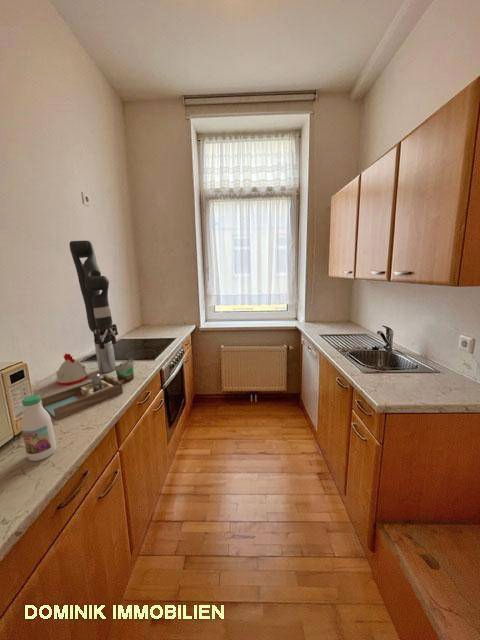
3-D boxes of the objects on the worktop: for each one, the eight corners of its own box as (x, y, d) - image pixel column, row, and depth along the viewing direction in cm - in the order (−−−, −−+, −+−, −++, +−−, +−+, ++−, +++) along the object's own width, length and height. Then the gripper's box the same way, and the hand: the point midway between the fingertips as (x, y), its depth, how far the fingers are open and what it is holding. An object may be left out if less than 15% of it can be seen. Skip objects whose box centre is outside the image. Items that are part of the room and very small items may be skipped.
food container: (127, 385, 137) (124, 366, 135) (116, 384, 138) (114, 366, 136) (140, 375, 148) (138, 358, 146) (130, 374, 150) (128, 357, 148)
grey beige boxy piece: (81, 393, 126) (78, 375, 125) (102, 385, 134) (100, 368, 132) (92, 400, 119) (89, 381, 117) (114, 391, 127) (112, 374, 125)
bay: (43, 408, 116) (40, 396, 115) (106, 384, 138) (105, 374, 137) (56, 420, 107) (54, 407, 106) (123, 392, 128) (121, 382, 127)
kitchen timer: (77, 373, 154) (73, 348, 151) (92, 377, 148) (88, 351, 145) (52, 383, 142) (47, 356, 139) (67, 387, 136) (62, 359, 133)
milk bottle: (38, 446, 91) (26, 392, 87) (61, 444, 92) (51, 391, 87) (22, 463, 83) (8, 404, 79) (48, 460, 84) (36, 403, 80)
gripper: (106, 313, 143) (111, 342, 146) (85, 318, 129) (92, 350, 132) (118, 313, 141) (123, 342, 144) (99, 318, 128) (104, 350, 131)
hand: (108, 346), depth 138 cm, fingers open, 8 cm apart
